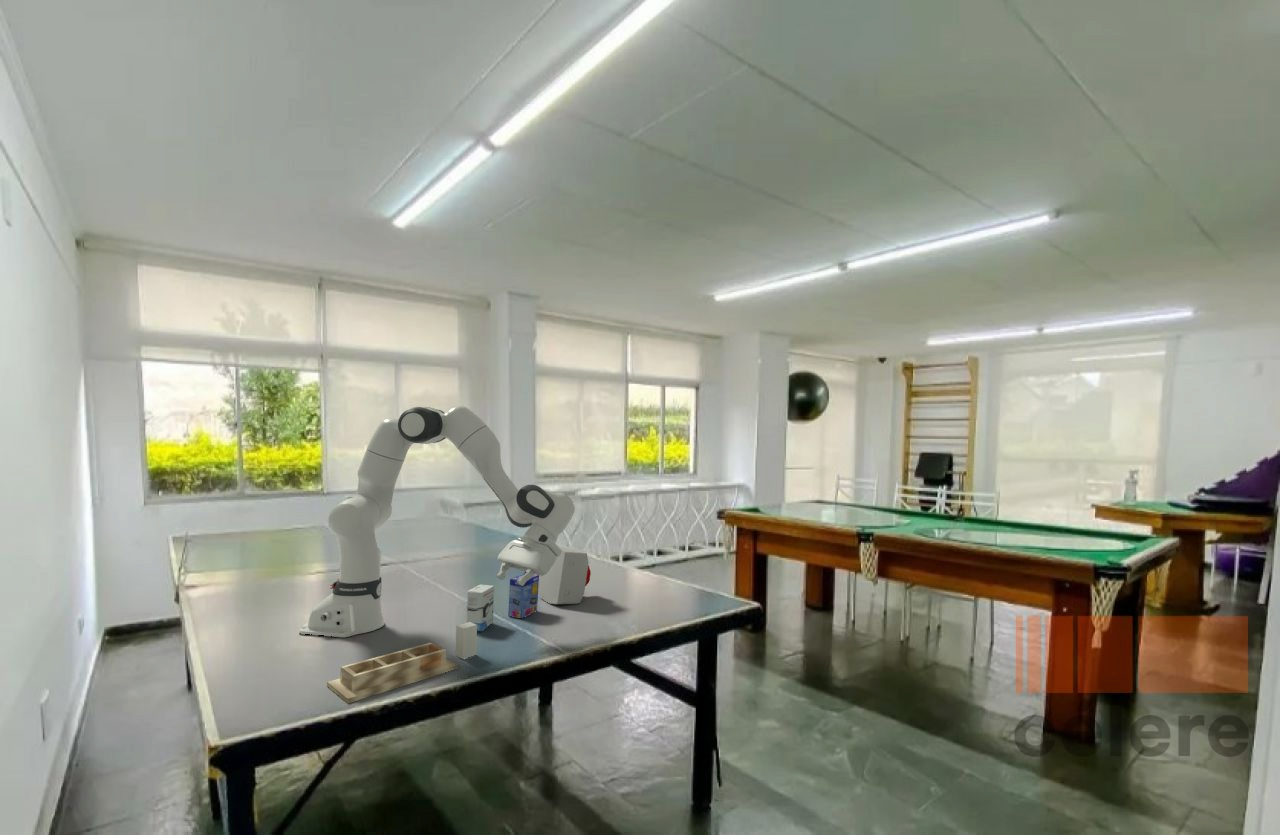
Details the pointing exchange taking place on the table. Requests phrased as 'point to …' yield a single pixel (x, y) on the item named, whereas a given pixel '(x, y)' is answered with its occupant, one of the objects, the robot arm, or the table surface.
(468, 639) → the off-white tall block
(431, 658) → the rack
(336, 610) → the robot arm
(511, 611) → the ink cartridge box
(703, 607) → the table surface
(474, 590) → the ink box
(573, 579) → the electrical switch box
